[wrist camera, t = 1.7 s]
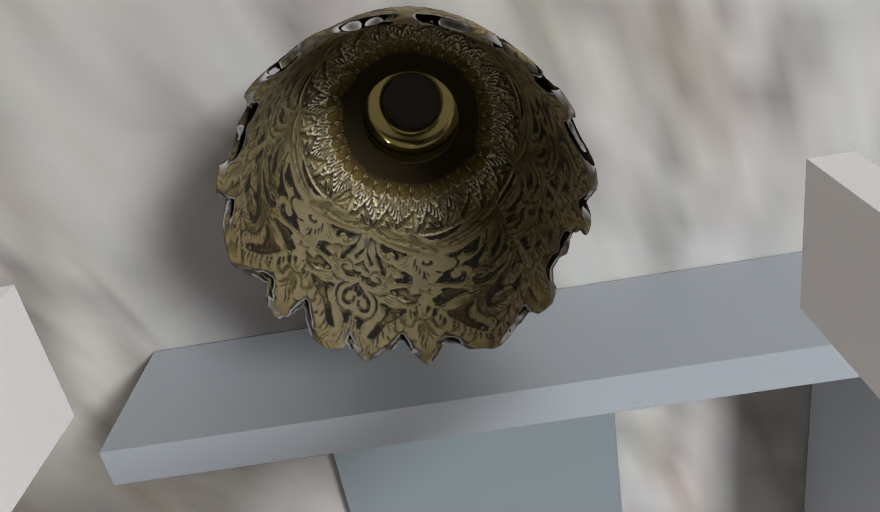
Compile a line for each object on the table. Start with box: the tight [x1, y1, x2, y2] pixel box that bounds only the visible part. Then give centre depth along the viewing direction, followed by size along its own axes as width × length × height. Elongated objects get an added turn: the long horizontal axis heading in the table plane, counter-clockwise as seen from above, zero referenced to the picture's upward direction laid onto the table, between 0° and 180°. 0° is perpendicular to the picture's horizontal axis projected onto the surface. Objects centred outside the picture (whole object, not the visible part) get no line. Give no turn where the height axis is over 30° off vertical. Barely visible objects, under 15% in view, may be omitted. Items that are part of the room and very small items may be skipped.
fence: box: [99, 252, 880, 512], centre depth 26 cm, size 13×23×5 cm, turn 99°
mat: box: [333, 413, 622, 512], centre depth 29 cm, size 10×10×1 cm
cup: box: [216, 6, 598, 365], centre depth 19 cm, size 8×7×8 cm
